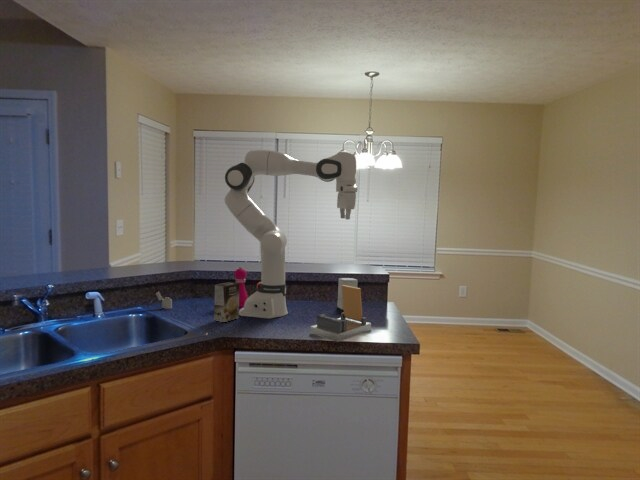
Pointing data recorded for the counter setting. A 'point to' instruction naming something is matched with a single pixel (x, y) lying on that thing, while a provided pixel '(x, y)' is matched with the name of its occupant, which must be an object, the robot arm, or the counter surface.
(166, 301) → the lighter
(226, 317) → the coffee box
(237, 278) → the pepper mill
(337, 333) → the grey and white fixture
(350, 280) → the skincare box
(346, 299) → the tan flat panel
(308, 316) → the counter surface
